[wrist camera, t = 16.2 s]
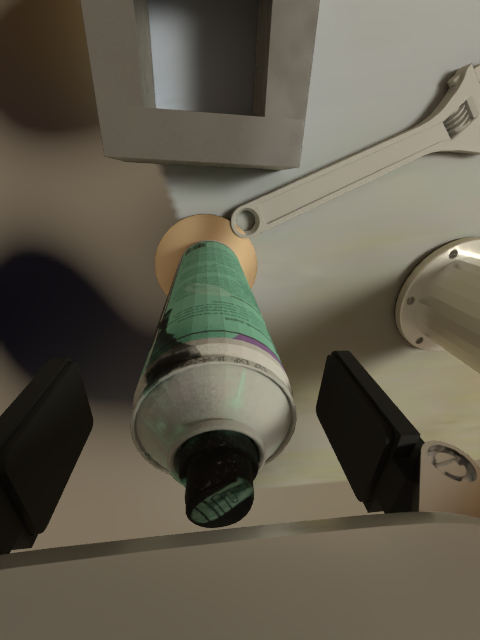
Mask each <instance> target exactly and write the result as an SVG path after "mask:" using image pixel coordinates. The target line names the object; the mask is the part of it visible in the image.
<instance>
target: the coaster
mask: <svg viewBox="0 0 480 640" xmlns="http://www.w3.org/2000/svg"><path fill="white" fill-rule="evenodd" d="M234 225H235V224H234ZM235 228H236V230H237V231H238V232H239V233H241V234H244V235H246V234H245V233H244V232H243V231H242V230H241V229H240V228H239V227H238V226H237V225H235ZM202 240H216V241H220V242H222V243H224V244H226V245H227V246H228V247H230V248H231V249H232V250H233V252H234V253H235V254H236V256H237V258H238V260H239V262H240V265H241V267H242V269H243V272H244V274H245V277H246V279H247V281H248V284H249V286H250V289H251V288H252V286H253V284H254V282H255V278H256V273H257V259H256V254H255V250H254V248H253V245H252V243H251V242H250V240H249V238H242V237H240V236H238V235H237V234H236V233H235V232H234V230H233V229H232V225H231V221H230V220H228V219H226V218H223V217H221V216H217V215H212V214H198V215H192V216H189V217H186V218H184V219H182V220H180V221H178V222H177V223H176V224H174V225H173V226H172V227H171V228H170V229H169V230H168V231H167V232H166V234H165V235H164V236H163V238H162V239H161V241H160V243H159V245H158V248H157V252H156V255H155V271H156V276H157V280H158V282H159V284H160V286H161V288H162V290H163V292H164V293H165V294H166V295H167V297H168V294H169V291H170V288H171V285H172V282H173V279H174V276H175V273H176V270H177V267H178V264H179V261H180V259H181V256H182V255H183V253H184V252H185V250H186V249H187V248H188V247H189V246H191V245H192V244H194V243H196V242H199V241H202Z"/></svg>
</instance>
